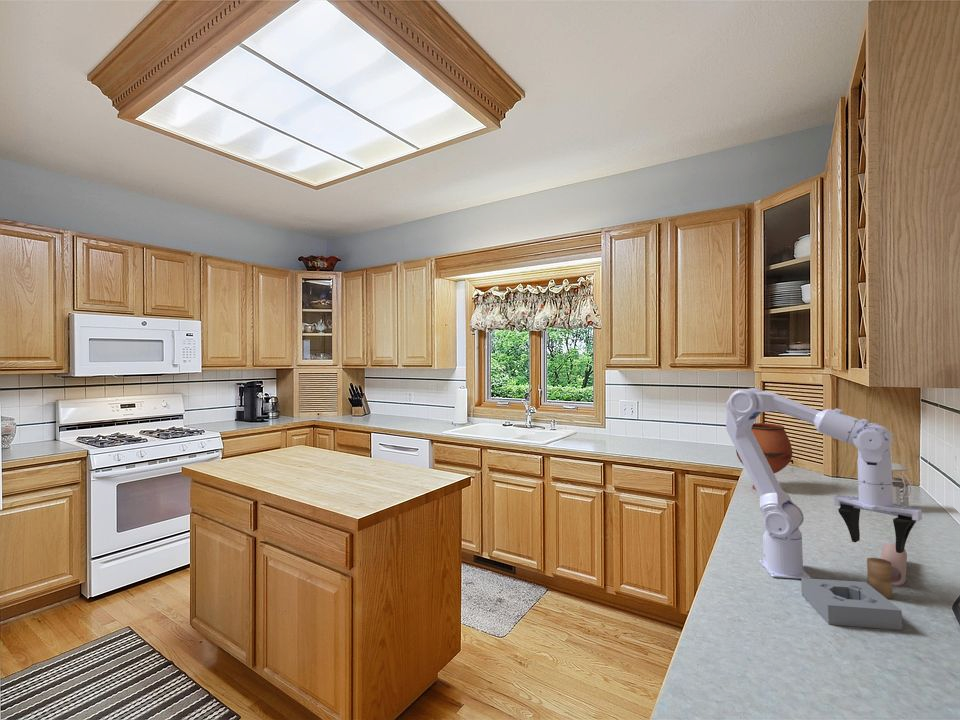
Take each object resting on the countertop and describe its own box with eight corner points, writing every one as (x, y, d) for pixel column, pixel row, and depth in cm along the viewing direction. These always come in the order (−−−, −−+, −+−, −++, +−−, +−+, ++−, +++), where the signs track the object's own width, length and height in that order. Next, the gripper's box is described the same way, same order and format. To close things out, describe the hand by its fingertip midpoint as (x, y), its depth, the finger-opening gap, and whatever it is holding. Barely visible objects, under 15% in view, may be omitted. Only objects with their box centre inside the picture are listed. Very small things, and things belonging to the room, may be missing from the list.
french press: (898, 504, 166) (895, 431, 166) (925, 515, 154) (922, 435, 155) (867, 504, 167) (864, 431, 167) (892, 514, 155) (889, 436, 156)
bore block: (801, 594, 104) (801, 578, 104) (866, 599, 102) (865, 582, 102) (828, 624, 93) (827, 605, 93) (902, 630, 90) (901, 610, 90)
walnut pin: (864, 589, 106) (863, 557, 106) (885, 590, 105) (884, 558, 105) (874, 598, 102) (873, 564, 102) (896, 599, 101) (895, 565, 101)
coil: (880, 541, 123) (876, 563, 109) (905, 543, 120) (903, 566, 106) (884, 560, 122) (880, 585, 109) (908, 562, 119) (907, 588, 106)
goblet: (743, 494, 184) (741, 427, 184) (732, 482, 202) (730, 421, 202) (801, 496, 178) (799, 428, 178) (785, 484, 196) (783, 422, 197)
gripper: (827, 478, 107) (829, 540, 107) (912, 491, 95) (914, 561, 95) (841, 473, 111) (843, 533, 111) (924, 486, 99) (927, 553, 99)
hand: (877, 546), depth 103 cm, fingers open, 7 cm apart
